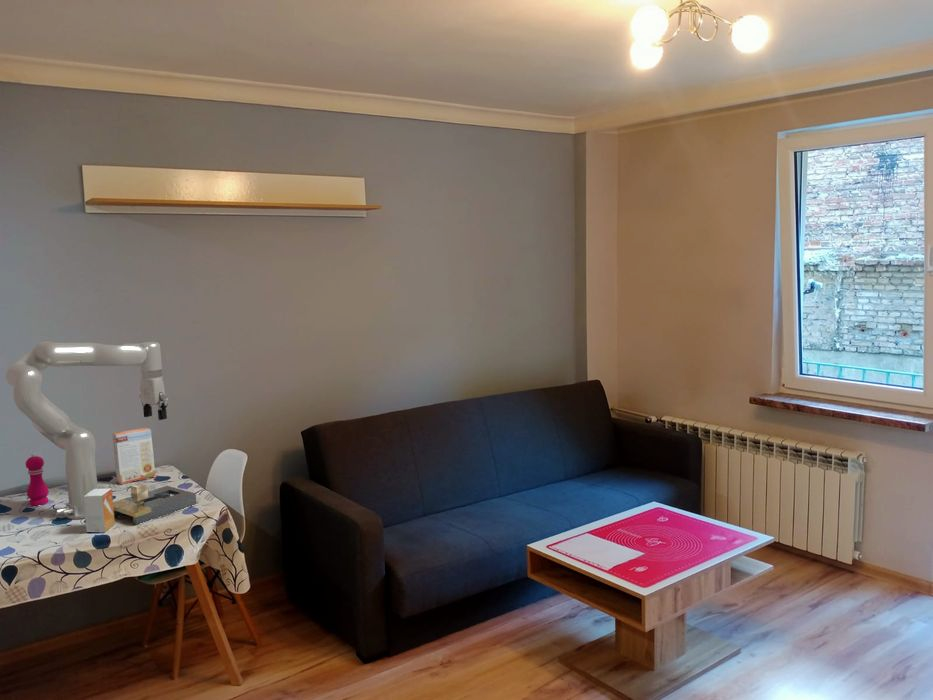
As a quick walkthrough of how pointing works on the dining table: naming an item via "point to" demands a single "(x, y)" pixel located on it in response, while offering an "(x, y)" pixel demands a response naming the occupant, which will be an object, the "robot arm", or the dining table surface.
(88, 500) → the small box
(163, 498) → the keyhole plate
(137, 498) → the maple peg
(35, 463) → the pepper mill
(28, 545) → the dining table surface
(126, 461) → the cracker box
